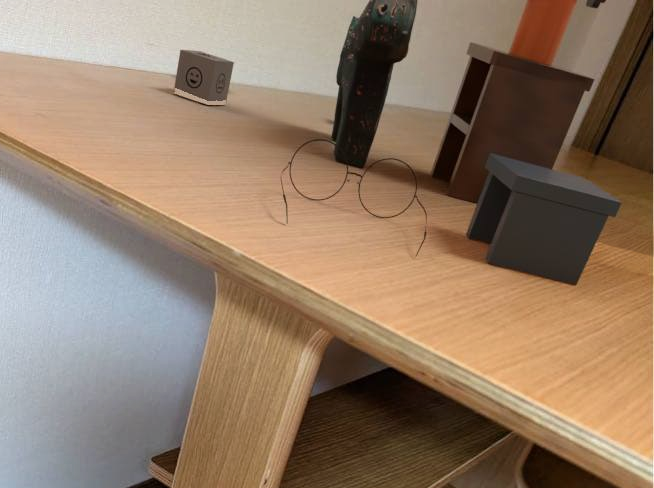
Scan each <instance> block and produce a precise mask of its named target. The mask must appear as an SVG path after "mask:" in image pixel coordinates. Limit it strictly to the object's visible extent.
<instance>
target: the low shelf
mask: <svg viewBox="0 0 654 488" xmlns="http://www.w3.org/2000/svg"><path fill="white" fill-rule="evenodd" d="M485 168H486V169H488V170H489V174H488V176H487V179H486V182H485V184H484V187H483V190H482V192H481V195H480V198H479V200H478V203H476V206H475V209H474V211H473V213H472V216H471V220H470V222H469V225H468V227H467V230H466V232H465V236H466V238H467V239H469V240H473V241H477V242H481V243H483V244H484V243H485V244H488V245H489V248H488V251H487V253H486V255H485V258H484V260H485V262H486V263H487V264H488V265H491V266H496V267H500V268H504V269H507V270H512V271H516V272H520V273H525V274H528V275H533V276H535V277H541V278H545V279H549V280H553V281H557V282H561V283H565V284H569V285H572V286H577V285H578V283H579V281H580V278H581V276H582V274H583V272H584V269H585V268H586V265H587V263H588V261H589V259H590V258H591V254H592V252H593V251H594V249H595V246H596V244H597V242H598V240H599V239H600V235H601V233H602V231H603V229H604V227H605V225H606V222H607V220H608V218H609V217H612V218H616V216H617V214H618V212H619V210H620V208H621V206H622V203H623V202H622V201H621V200H619V199H618V198H616V197H615V196H613V195H611V194H610V193H608V191H607V192H606V191H605V190H603V188H600V187H599V186H597V185H596V184H594V183H593V182H592V181H590V180H588V179H587V178H585V177H582V176H578V175H575V174H571V173H567V172H563V171H559V170H556V169H548V168H545V167H541V166H537V165H533V164H530V163H526V162H522V161H518V160H515V159H511V158H507V157H503V156H499V155H496V154H492V153H490V155H489V157H488V160H487V163H486V165H485Z"/></svg>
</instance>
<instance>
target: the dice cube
mask: <svg viewBox="0 0 654 488" xmlns="http://www.w3.org/2000/svg"><path fill="white" fill-rule="evenodd" d="M234 64H235V61H232V60H228V59H225V58H222V57H219V56H216V55H213V54H210V53H207V52H204V51H201V50H191V49H180V51H179V56H178V62H177V69H176V75H175V79H174V80H175V82H174V88H177V89H180V90H182V91H184V92H187V93H189V94H192V95H194V96H197V97H199V98H202V99H205V100H207V101H216V100H217V101H223V100H226V102H227V101H228V100H227V99H228V95H229V90H230V84H231V79H232V74H233V69H234ZM174 88H173V89H174Z"/></svg>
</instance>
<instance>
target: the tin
mask: <svg viewBox="0 0 654 488" xmlns="http://www.w3.org/2000/svg"><path fill="white" fill-rule="evenodd" d="M577 3H578V0H526V2H525V5H524V7H523V11H522V13H521V17H520V19H519V22H518V25H517V28H516V30H515V33H514V36H513V39H512V42H511V43H510V47H509V50H508V51H507V52H508V53H509V54H511V55H514V56H518V57H521V58H525V59H528V60H531V61H535V62H538V63H542V64H546V65H550V66H552V65H553V64H554V61H555V59H556V57H557V55H558V54H557V53H558V51H559V48H560V46H561V43H562V41H563V39H564V35H565V34H566V32H567V31H566V30H567V28H568V25H569V23H570V21H571V17H572V15H573V13H574V10H575V8H576V5H577Z"/></svg>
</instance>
